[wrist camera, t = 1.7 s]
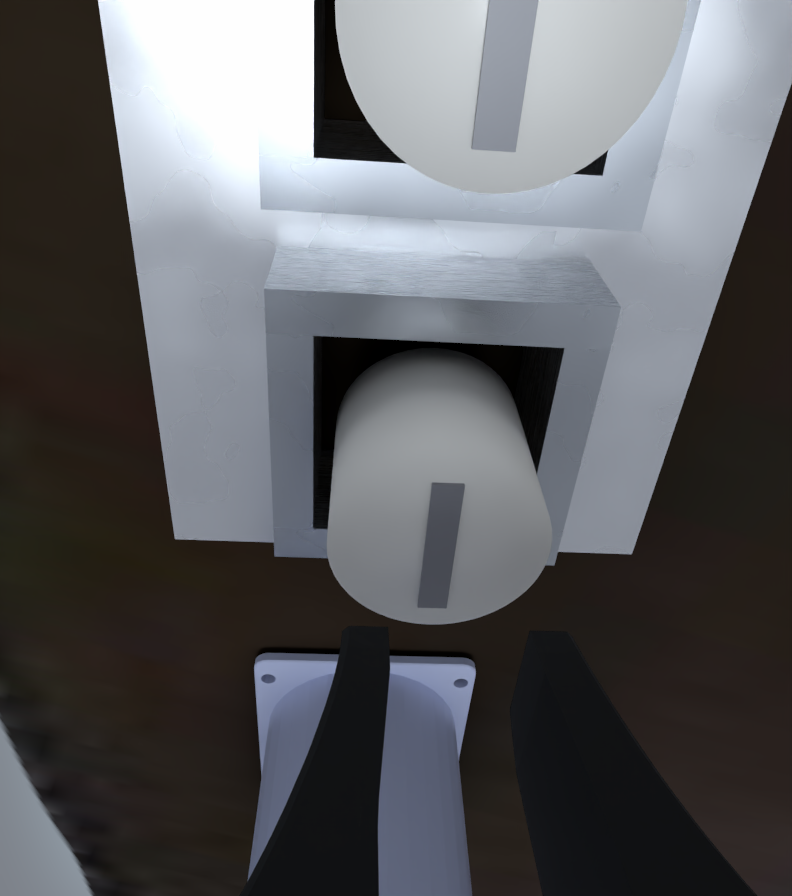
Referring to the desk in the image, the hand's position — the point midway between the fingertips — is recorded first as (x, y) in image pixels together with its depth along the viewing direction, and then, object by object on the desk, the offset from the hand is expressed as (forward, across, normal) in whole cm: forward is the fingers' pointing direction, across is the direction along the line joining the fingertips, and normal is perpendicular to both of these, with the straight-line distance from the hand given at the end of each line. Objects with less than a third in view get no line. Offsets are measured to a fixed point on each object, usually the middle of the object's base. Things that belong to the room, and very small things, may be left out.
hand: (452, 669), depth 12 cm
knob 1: (+7, 0, -9) cm, 11 cm away
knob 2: (+7, 0, 0) cm, 7 cm away
